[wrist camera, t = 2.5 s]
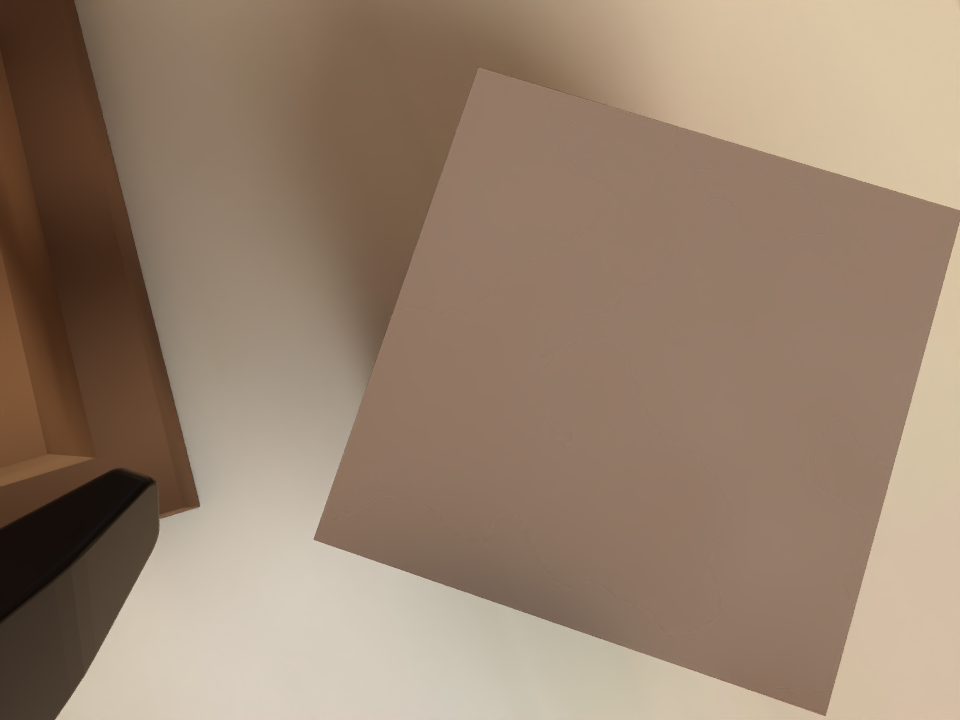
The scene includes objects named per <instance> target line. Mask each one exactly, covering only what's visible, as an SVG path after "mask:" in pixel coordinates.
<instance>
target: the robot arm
mask: <svg viewBox="0 0 960 720" xmlns="http://www.w3.org/2000/svg"><path fill="white" fill-rule="evenodd" d="M159 526H160V525H159V491H158V483H157V482H156V480H155V479H154V478H153V477H151V476H149V475H146V474H143V473H140V472H137V471H134V470H131V469H128V468H123V467H121V468H115V469H112V470H110V471H108V472H106V473H104V474H102V475H101V476H99V477H97V478H95V479H93V480H91V481H89V482H87V483H85V484H83V485H82V486H80V487H78V488H76V489H74V490H72V491H70V492H68V493H66V494H64V495H62V496H61V497H59V498H57V499H55V500H53V501H51V502H49V503H47V504H45V505H43V506H42V507H40V508H38V509H36V510H34V511H32V512H30V513H28V514H26V515H24V516H22V517H21V518H19V519H17V520H15V521H13V522H11V523H9V524H7V525H5V526H3V527H2V528H0V720H55V719H56V717H57V716H58V715H59V713H60V712H61V710H62V709H63V707H64V706H65V704H66V703H67V701H68V700H69V699H70V697H71V696H72V694H73V693H74V691H75V689H76V688H77V686H78V685H79V683H80V682H81V680H82V679H83V677H84V676H85V674H86V672H87V670H88V669H89V667H90V665H91V663H92V662H93V660H94V658H95V656H96V655H97V653H98V651H99V649H100V647H101V645H102V643H103V642H104V640H105V638H106V636H107V634H108V632H109V631H110V629H111V627H112V625H113V623H114V621H115V619H116V618H117V616H118V614H119V612H120V610H121V608H122V606H123V605H124V603H125V601H126V599H127V597H128V595H129V593H130V592H131V590H132V588H133V586H134V584H135V582H136V580H137V579H138V577H139V575H140V573H141V571H142V569H143V568H144V566H145V564H146V562H147V560H148V558H149V556H150V555H151V553H152V551H153V549H154V546H155V544H156V542H157V538H158V534H159Z"/></svg>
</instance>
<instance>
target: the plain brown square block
mask: <svg viewBox="0 0 960 720" xmlns="http://www.w3.org/2000/svg"><path fill="white" fill-rule="evenodd" d="M959 223H960V210H956V209H953V208H950V207H946V206H943V205H940V204H936V203H933V202H929V201H926V200H923V199H919V198H916V197H913V196H909V195H906V194H903V193H899V192H896V191H893V190H889V189H886V188H882V187H879V186H876V185H872V184H869V183H866V182H862V181H859V180H856V179H852V178H849V177H846V176H842V175H839V174H835V173H832V172H829V171H825V170H822V169H819V168H815V167H812V166H809V165H805V164H802V163H799V162H795V161H792V160H788V159H785V158H782V157H778V156H775V155H772V154H768V153H765V152H762V151H758V150H755V149H752V148H748V147H745V146H741V145H738V144H735V143H731V142H728V141H725V140H721V139H718V138H715V137H711V136H708V135H705V134H701V133H698V132H694V131H691V130H688V129H684V128H681V127H678V126H674V125H671V124H668V123H664V122H661V121H658V120H654V119H651V118H647V117H644V116H641V115H637V114H634V113H631V112H627V111H624V110H621V109H617V108H614V107H611V106H607V105H604V104H600V103H597V102H594V101H590V100H587V99H584V98H580V97H577V96H574V95H570V94H567V93H564V92H560V91H557V90H553V89H550V88H547V87H543V86H540V85H537V84H533V83H530V82H527V81H523V80H520V79H517V78H513V77H510V76H506V75H503V74H500V73H496V72H493V71H490V70H486V69H483V68H480V67H478V70H477V73H476V76H475V78H474V81H473V84H472V87H471V90H470V93H469V96H468V99H467V101H466V104H465V107H464V110H463V113H462V116H461V119H460V121H459V124H458V127H457V130H456V133H455V136H454V139H453V141H452V144H451V147H450V150H449V153H448V156H447V159H446V162H445V164H444V167H443V170H442V173H441V176H440V179H439V182H438V184H437V187H436V190H435V193H434V196H433V199H432V202H431V205H430V207H429V210H428V213H427V216H426V219H425V222H424V225H423V227H422V230H421V233H420V236H419V239H418V242H417V245H416V248H415V250H414V253H413V256H412V259H411V262H410V265H409V268H408V270H407V273H406V276H405V279H404V282H403V285H402V288H401V291H400V293H399V296H398V299H397V302H396V305H395V308H394V311H393V313H392V316H391V319H390V322H389V325H388V328H387V331H386V333H385V336H384V339H383V342H382V345H381V348H380V351H379V354H378V356H377V359H376V362H375V365H374V368H373V371H372V374H371V376H370V379H369V382H368V385H367V388H366V391H365V394H364V397H363V399H362V402H361V405H360V408H359V411H358V414H357V417H356V419H355V422H354V425H353V428H352V431H351V434H350V437H349V440H348V442H347V445H346V448H345V451H344V454H343V457H342V460H341V462H340V465H339V468H338V471H337V474H336V477H335V480H334V482H333V485H332V488H331V491H330V494H329V497H328V500H327V503H326V505H325V508H324V511H323V514H322V517H321V520H320V523H319V525H318V528H317V531H316V534H315V537H314V540H316V541H319V542H322V543H325V544H328V545H331V546H334V547H336V548H339V549H342V550H345V551H348V552H351V553H354V554H357V555H360V556H363V557H365V558H368V559H371V560H374V561H377V562H380V563H383V564H386V565H389V566H392V567H394V568H397V569H400V570H403V571H406V572H409V573H412V574H415V575H418V576H421V577H423V578H426V579H429V580H432V581H435V582H438V583H441V584H444V585H447V586H450V587H452V588H455V589H458V590H461V591H464V592H467V593H470V594H473V595H476V596H479V597H482V598H484V599H487V600H490V601H493V602H496V603H499V604H502V605H505V606H508V607H511V608H513V609H516V610H519V611H522V612H525V613H528V614H531V615H534V616H537V617H540V618H542V619H545V620H548V621H551V622H554V623H557V624H560V625H563V626H566V627H569V628H571V629H574V630H577V631H580V632H583V633H586V634H589V635H592V636H595V637H598V638H600V639H603V640H606V641H609V642H612V643H615V644H618V645H621V646H624V647H627V648H629V649H632V650H635V651H638V652H641V653H644V654H647V655H650V656H653V657H656V658H659V659H661V660H664V661H667V662H670V663H673V664H676V665H679V666H682V667H685V668H688V669H690V670H693V671H696V672H699V673H702V674H705V675H708V676H711V677H714V678H717V679H719V680H722V681H725V682H728V683H731V684H734V685H737V686H740V687H743V688H746V689H748V690H751V691H754V692H757V693H760V694H763V695H766V696H769V697H772V698H775V699H777V700H780V701H783V702H786V703H789V704H792V705H795V706H798V707H801V708H804V709H806V710H809V711H812V712H815V713H818V714H821V715H824V716H826V712H827V709H828V705H829V701H830V698H831V694H832V690H833V687H834V683H835V679H836V675H837V672H838V668H839V664H840V661H841V657H842V653H843V650H844V646H845V642H846V639H847V635H848V631H849V628H850V624H851V620H852V617H853V613H854V609H855V606H856V602H857V598H858V594H859V591H860V587H861V583H862V580H863V576H864V572H865V569H866V565H867V561H868V558H869V554H870V550H871V547H872V543H873V539H874V536H875V532H876V528H877V525H878V521H879V517H880V513H881V510H882V506H883V502H884V499H885V495H886V491H887V488H888V484H889V480H890V477H891V473H892V469H893V466H894V462H895V458H896V455H897V451H898V447H899V443H900V440H901V436H902V432H903V429H904V425H905V421H906V418H907V414H908V410H909V407H910V403H911V399H912V396H913V392H914V388H915V385H916V381H917V377H918V374H919V370H920V366H921V362H922V359H923V355H924V351H925V348H926V344H927V340H928V337H929V333H930V329H931V326H932V322H933V318H934V315H935V311H936V307H937V304H938V300H939V296H940V293H941V289H942V285H943V281H944V278H945V274H946V270H947V267H948V263H949V259H950V256H951V252H952V248H953V245H954V241H955V237H956V234H957V230H958V226H959Z"/></svg>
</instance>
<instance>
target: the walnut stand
mask: <svg viewBox="0 0 960 720" xmlns="http://www.w3.org/2000/svg"><path fill="white" fill-rule="evenodd" d="M121 467H123V468H128V469H131V470H134V471H137V472H140V473H143V474H146V475H149V476H151V477H153V478H154V479H155V480H156V482H157V483H158V491H159V519H161V518H164V517H167V516H171V515H174V514H177V513H181V512H184V511H187V510H191V509H194V508H197V507H200V505H199V500H198V496H197V492H196V488H195V484H194V480H193V476H192V472H191V468H190V464H189V460H188V456H187V452H186V448H185V444H184V440H183V436H182V432H181V428H180V424H179V420H178V416H177V412H176V408H175V404H174V400H173V396H172V392H171V388H170V384H169V380H168V376H167V372H166V368H165V364H164V360H163V356H162V352H161V348H160V344H159V340H158V336H157V332H156V328H155V324H154V320H153V316H152V312H151V308H150V304H149V300H148V296H147V292H146V288H145V284H144V280H143V276H142V272H141V268H140V264H139V260H138V256H137V252H136V248H135V244H134V240H133V236H132V232H131V228H130V224H129V220H128V216H127V212H126V208H125V204H124V200H123V196H122V192H121V188H120V184H119V180H118V176H117V172H116V168H115V164H114V160H113V156H112V152H111V148H110V144H109V140H108V136H107V132H106V128H105V124H104V120H103V116H102V112H101V108H100V104H99V100H98V96H97V92H96V88H95V84H94V80H93V76H92V72H91V68H90V64H89V60H88V56H87V52H86V48H85V44H84V40H83V36H82V32H81V28H80V24H79V20H78V16H77V12H76V8H75V4H74V0H0V528H2V527H3V526H5V525H7V524H9V523H11V522H13V521H15V520H17V519H19V518H21V517H22V516H24V515H26V514H28V513H30V512H32V511H34V510H36V509H38V508H40V507H42V506H43V505H45V504H47V503H49V502H51V501H53V500H55V499H57V498H59V497H61V496H62V495H64V494H66V493H68V492H70V491H72V490H74V489H76V488H78V487H80V486H82V485H83V484H85V483H87V482H89V481H91V480H93V479H95V478H97V477H99V476H101V475H102V474H104V473H106V472H108V471H110V470H112V469H115V468H121Z"/></svg>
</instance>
